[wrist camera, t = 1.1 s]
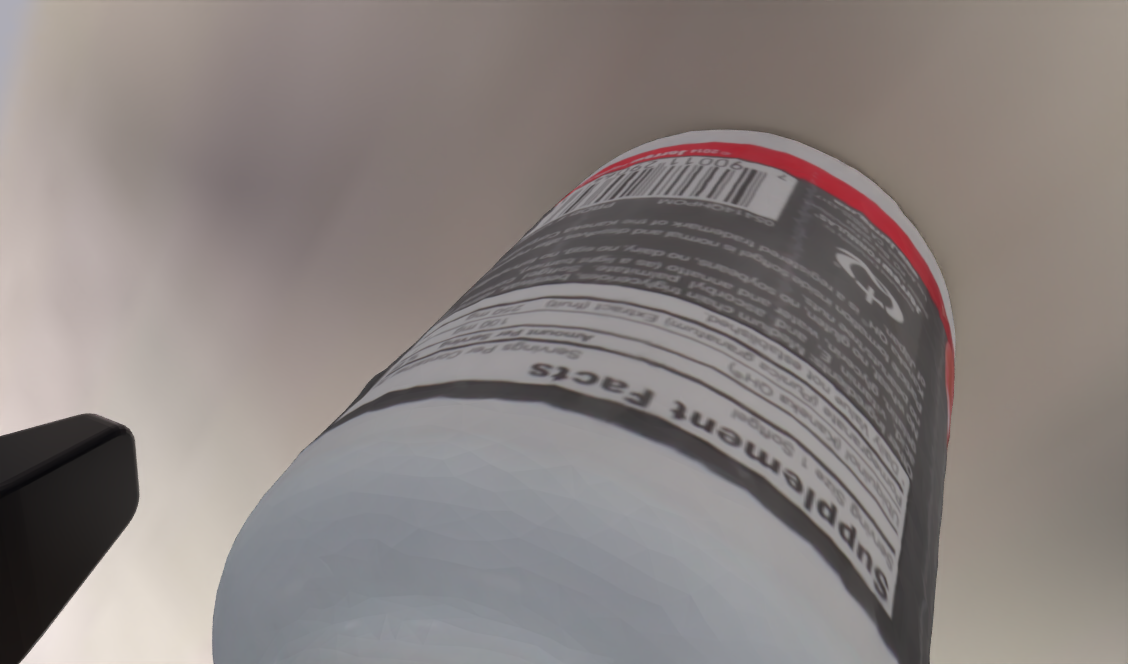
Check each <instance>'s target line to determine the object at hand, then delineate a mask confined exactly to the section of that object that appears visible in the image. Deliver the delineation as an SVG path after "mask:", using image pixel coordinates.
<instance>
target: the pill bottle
mask: <svg viewBox="0 0 1128 664" xmlns="http://www.w3.org/2000/svg"><path fill="white" fill-rule="evenodd" d="M955 347H956V340H955V328H954V319H953V314H952V309H951V303H950V298H949V293H948V290H947V287H946V284H945V280H944V278H943V276H942V273H941V271H940V269H939V266H938V264H937V262H936V259H935V257H934V256H933V254H932V252H931V251H930V249H929V248H928V246H927V244H926V243H925V241H924V240H923V238H922V236H921V235H920V233H919V232H918V230H917V229H916V227H915V226H914V225H913V224H912V223H911V222H910V221H909V219H908V218H907V217H906V216H905V215H904V214H903V213H902V211H901V209H900V208H899V206H898V205H897V203H896V202H895V201H894V200H893V199H892V198H891V197H890V196H888V195H887V194H886V193H885V192H884V191H883V190H882V189H881V188H880V187H879V186H877V185H876V184H875V183H874V182H873V181H872V180H870V179H869V178H867V177H866V176H865V175H863V174H862V173H860V172H859V171H858V170H856V169H854V168H852V167H850V166H848V165H847V164H845V163H843V162H842V161H840V160H838V159H836V158H834V157H832V156H829V155H827V154H825V153H823V152H821V151H819V150H817V149H815V148H812V147H810V146H807V145H805V144H803V143H800V142H798V141H795V140H792V139H788V138H785V137H781V136H777V135H774V134H770V133H764V132H756V131H745V130H703V131H690V132H685V133H681V134H677V135H673V136H669V137H664V138H660V139H657V140H654V141H651V142H648V143H645V144H642V145H640V146H638V147H636V148H634V149H632V150H629V151H627V152H625V153H623V154H621V155H619V156H618V157H616V158H614V159H613V160H611V161H610V162H608V163H606V164H605V165H603V166H602V167H600V168H599V169H598V170H597V171H595V172H594V173H593V174H591V175H590V176H589V177H587V178H586V179H585V180H584V181H583V182H582V183H581V184H579V185H578V186H577V187H576V188H575V189H574V190H573V191H572V192H570V193H569V194H568V195H567V196H565V197H564V198H563V199H562V200H561V201H560V202H559V203H558V204H557V205H555V206H554V207H553V208H552V209H551V210H550V211H549V212H547V213H546V214H545V215H544V216H543V217H542V218H541V219H540V220H539V221H538V222H537V224H536V225H535V226H534V227H533V228H531V229H530V230H529V231H528V232H527V233H526V234H525V235H524V236H523V238H522V239H521V240H520V241H519V242H518V243H517V244H516V245H515V246H514V247H513V248H512V249H510V250H509V251H508V252H507V253H506V254H505V255H504V256H503V257H502V258H501V259H500V260H499V261H498V262H497V263H496V264H495V265H494V267H493V268H492V269H490V270H489V271H488V272H487V273H486V274H485V275H484V276H483V277H482V278H481V279H480V280H479V281H478V282H477V283H476V284H475V285H474V286H473V287H472V288H471V289H470V290H469V291H467V292H466V293H465V294H464V295H463V296H462V297H461V298H460V299H459V300H458V301H457V302H456V303H455V304H454V305H453V306H452V307H451V308H450V309H449V310H448V311H447V312H446V314H445V315H444V316H443V317H442V318H441V319H439V320H438V321H437V322H436V323H435V324H434V325H433V326H432V327H431V328H430V329H429V330H428V331H427V332H426V333H425V334H424V335H423V336H422V337H421V338H420V339H419V340H418V341H417V342H416V343H415V344H414V345H413V346H411V347H410V348H409V349H408V350H407V351H406V352H404V353H403V354H402V355H401V356H400V357H399V358H398V359H397V360H395V361H394V362H393V363H392V364H391V365H390V366H389V367H388V368H387V369H385V370H384V371H382V372H381V373H379V374H377V375H376V376H374V377H373V378H372V379H371V380H370V382H369V383H368V384H367V385H366V386H365V388H364V389H363V390H362V392H361V393H360V394H359V396H358V397H357V398H356V399H355V400H354V401H353V402H352V404H351V405H350V406H349V407H348V408H347V409H346V410H345V411H344V412H343V413H342V414H341V415H340V416H339V417H338V418H337V419H336V420H335V421H334V422H333V423H332V424H331V425H330V426H329V427H328V428H327V429H326V430H325V431H324V432H323V433H322V434H321V435H320V436H319V437H317V438H316V439H315V440H314V441H313V442H312V443H311V444H309V445H308V446H307V447H306V448H305V449H304V450H302V452H301V453H300V454H299V455H298V457H297V458H296V459H295V460H294V462H293V463H292V464H291V465H290V467H289V468H288V469H287V470H286V471H285V472H284V473H283V474H282V476H281V477H280V478H279V479H278V480H277V481H276V482H275V483H274V485H273V486H272V487H271V488H270V489H269V490H268V491H267V492H266V494H265V495H264V496H263V497H262V499H261V500H260V502H259V503H258V504H257V506H256V507H255V509H254V510H253V511H252V513H251V514H250V516H249V517H248V518H247V520H246V522H245V523H244V525H243V527H242V529H241V530H240V532H239V534H238V536H237V537H236V539H235V541H234V544H233V546H232V548H231V550H230V553H229V555H228V557H227V560H226V563H225V567H224V570H223V573H222V577H221V580H220V584H219V587H218V590H217V595H216V602H215V608H214V615H213V631H212V647H213V662H214V664H930V661H929V655H930V644H931V634H932V624H933V612H934V599H935V587H936V577H937V568H938V547H939V534H940V526H941V517H942V505H943V490H944V479H945V471H946V461H947V447H948V442H949V437H950V422H951V412H952V405H953V396H954V366H955Z"/></svg>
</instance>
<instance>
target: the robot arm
mask: <svg viewBox="0 0 1128 664" xmlns="http://www.w3.org/2000/svg"><path fill="white" fill-rule="evenodd" d="M138 502H139V482H138V470H137V459H136V447H135V439H134V436H133V434H132V432H131V431H130V429H129V428H127V427H126V426H125V425H122V424H120V423H117V422H115V421H112V420H109V419H107V418H104V417H102V416H99V415H97V414H90V413H87V414H81V415H76V416H73V417H69V418H65V419H62V420H58V421H54V422H51V423H47V424H43V425H39V426H36V427H32V428H28V429H25V430H21V431H17V432H14V433H10V434H6V435H3V436H0V664H19V663H20V662H21V661H22V660H23V659H24V658H25V656H26V655H27V654H28V653H29V652H30V650H31V649H32V648H33V647H34V645H35V644H36V643H37V642H38V641H39V639H40V638H41V637H42V636H43V635H44V633H45V632H46V631H47V629H48V628H49V627H50V625H51V624H52V623H53V622H54V620H55V619H56V618H57V616H58V615H59V614H60V612H61V611H62V610H63V609H64V607H65V606H66V605H67V603H68V602H69V601H70V600H71V598H72V597H73V596H74V594H75V593H76V592H77V590H78V589H79V588H80V587H81V585H82V584H83V583H84V581H85V580H86V579H87V577H88V576H89V575H90V574H91V572H92V571H93V570H94V568H95V567H96V566H97V564H98V563H99V562H100V561H101V559H102V558H103V557H104V555H105V554H106V553H107V552H108V550H109V549H110V548H111V546H112V545H113V544H114V542H115V541H116V540H117V539H118V537H119V536H120V535H121V533H122V532H123V531H124V529H125V528H126V527H127V526H128V524H129V523H130V521H131V520H132V518H133V516H134V514H135V512H136V509H137V506H138Z"/></svg>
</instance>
